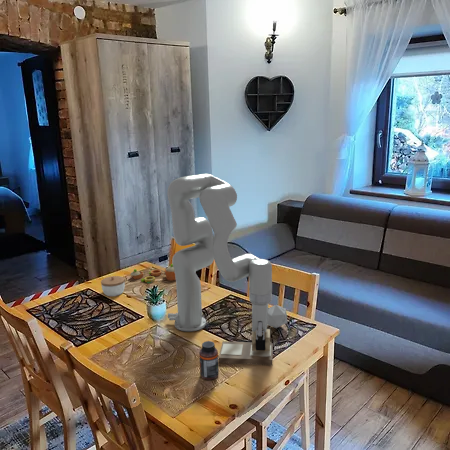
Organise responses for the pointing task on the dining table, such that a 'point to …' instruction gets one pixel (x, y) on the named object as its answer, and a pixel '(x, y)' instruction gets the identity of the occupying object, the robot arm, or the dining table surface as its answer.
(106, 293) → the lidded jar
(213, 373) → the supplement bottle
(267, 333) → the oak block
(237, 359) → the base board
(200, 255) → the robot arm
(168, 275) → the cupcakes and donuts
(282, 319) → the die
